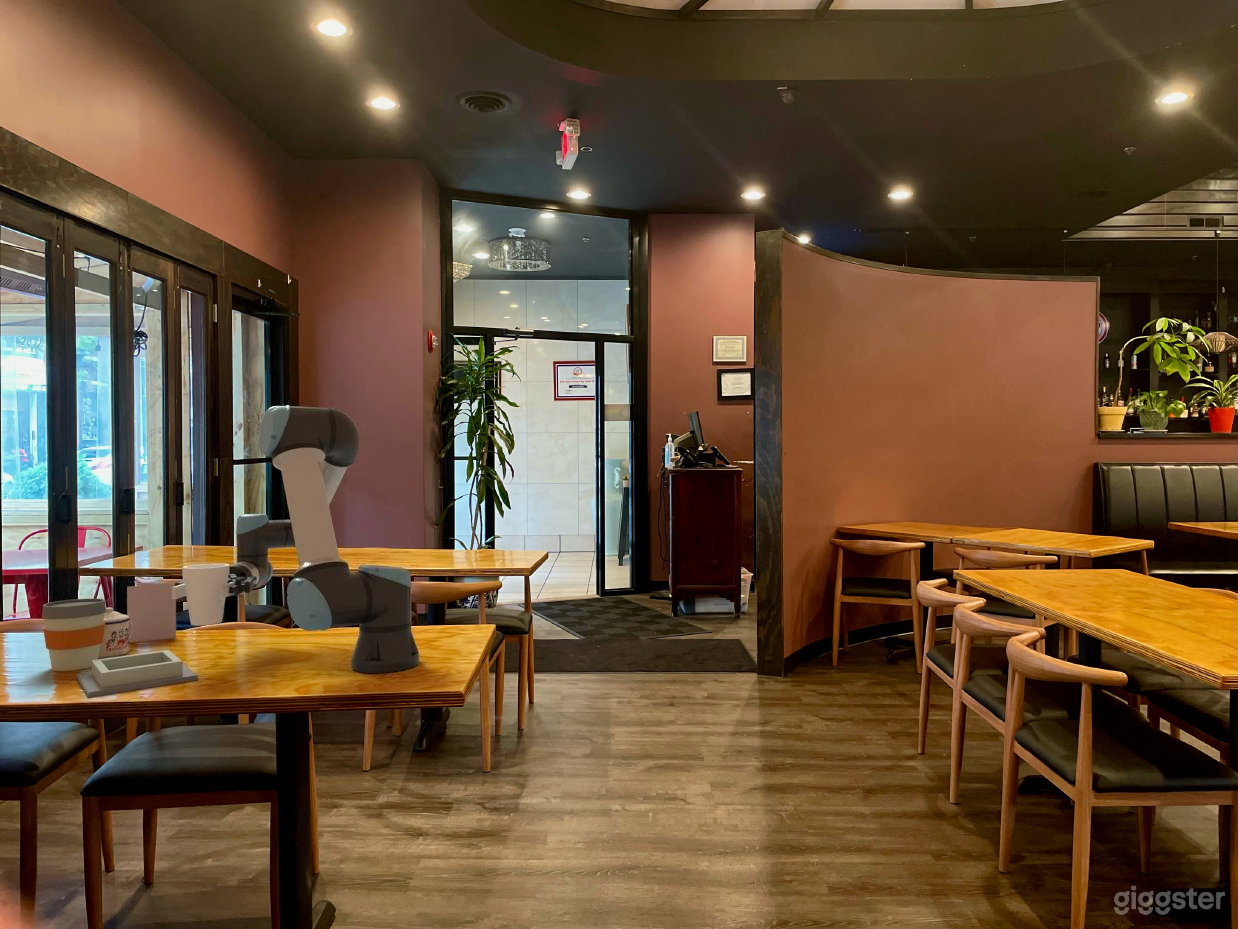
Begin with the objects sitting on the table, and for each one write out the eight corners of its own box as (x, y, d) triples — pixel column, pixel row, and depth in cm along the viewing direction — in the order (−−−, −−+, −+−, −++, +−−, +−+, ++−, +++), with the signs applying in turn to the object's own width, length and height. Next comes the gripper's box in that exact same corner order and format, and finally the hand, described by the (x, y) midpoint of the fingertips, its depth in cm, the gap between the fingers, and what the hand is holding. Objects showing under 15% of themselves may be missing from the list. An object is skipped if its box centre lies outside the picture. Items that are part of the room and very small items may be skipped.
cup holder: (198, 679, 172) (197, 661, 172) (88, 697, 159) (88, 677, 159) (178, 663, 188) (178, 646, 188) (76, 678, 175) (76, 660, 175)
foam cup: (209, 627, 174) (209, 569, 175) (173, 626, 176) (173, 568, 176) (238, 619, 184) (238, 563, 184) (203, 618, 186) (203, 563, 186)
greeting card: (178, 637, 218) (177, 583, 218) (159, 643, 211) (158, 587, 211) (140, 636, 220) (140, 582, 220) (120, 642, 212) (120, 586, 212)
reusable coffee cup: (101, 657, 195) (100, 596, 195) (111, 666, 186) (111, 602, 186) (38, 666, 186) (38, 602, 187) (46, 676, 177) (45, 609, 177)
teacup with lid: (109, 659, 193) (109, 611, 193) (77, 658, 194) (77, 610, 194) (147, 648, 205) (146, 603, 205) (116, 647, 206) (116, 602, 206)
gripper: (283, 592, 199) (248, 608, 177) (191, 594, 197) (145, 610, 175) (282, 563, 199) (248, 575, 177) (191, 564, 197) (145, 577, 175)
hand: (197, 592), depth 176 cm, fingers closed on foam cup, 9 cm apart
